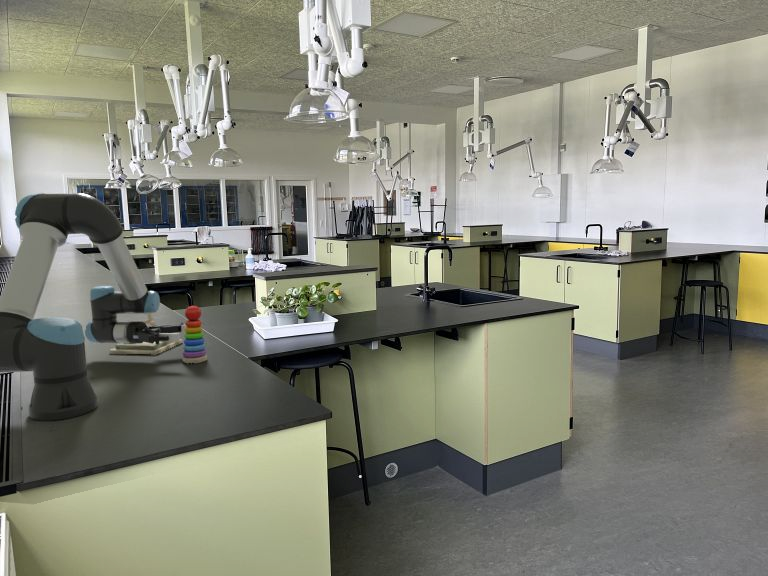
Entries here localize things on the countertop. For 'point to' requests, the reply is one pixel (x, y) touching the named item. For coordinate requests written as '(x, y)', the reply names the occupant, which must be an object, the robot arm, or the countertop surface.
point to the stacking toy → (193, 337)
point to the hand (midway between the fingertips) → (189, 333)
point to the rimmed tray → (143, 348)
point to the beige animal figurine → (149, 320)
